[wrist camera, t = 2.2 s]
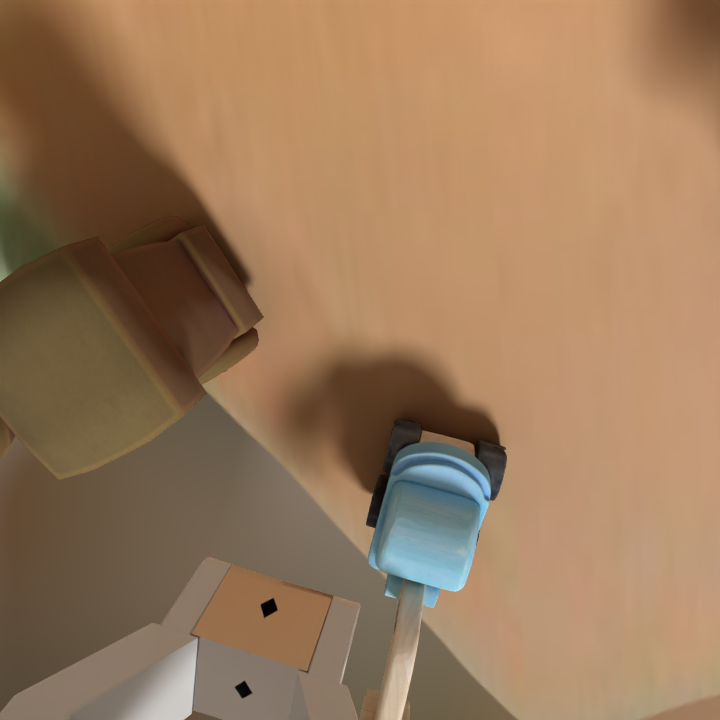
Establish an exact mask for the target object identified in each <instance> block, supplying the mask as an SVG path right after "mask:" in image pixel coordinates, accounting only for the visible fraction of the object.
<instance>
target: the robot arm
mask: <svg viewBox="0 0 720 720" xmlns="http://www.w3.org/2000/svg"><path fill="white" fill-rule="evenodd" d="M333 597H334V598H333ZM359 610H360V604H359V603H356V602H352V601H349V600H346V599H343V598H339V597H336V596H333V595H330V594H326V593H323V592H320V591H316V590H313V589H310V588H306V587H303V586H299V585H296V584H292V583H289V582H286V581H280V580H277V579H274V578H271V577H268V576H265V575H262V574H259V573H257V572H254V571H250V570H248V569H245V568H242V567H239V566H236V565H232V564H229V563H226V562H222V561H219V560H216V559H214V558H210V557H208V558H206V559H205V560H204V561H203V562H202V563H201V564H200V566H199V567H198V569H197V570H196V572H195V573H194V575H193V576H192V578H191V579H190V581H189V582H188V584H187V586H186V587H185V588H184V590H183V592H182V593H181V594H180V596H179V598H178V599H177V600H176V602H175V604H174V605H173V606H172V608H171V610H170V611H169V613H168V614H167V616H166V617H165V619H164V620H163V622H162V623H161V625H159V624H155V623H151V624H150V625H147V626H145V627H144V628H142V629H140V630H138V631H136V632H134V633H132V634H130V635H128V636H126V637H125V638H123V639H121V640H119V641H117V642H115V643H113V644H111V645H110V646H107V647H106V648H104V649H102V650H100V651H98V652H96V653H94V654H92V655H91V656H89V657H87V658H85V659H83V660H81V661H79V662H77V663H75V664H73V665H71V666H69V667H68V668H66V669H64V670H62V671H60V672H58V673H56V674H54V675H52V676H50V677H49V678H47V679H45V680H43V681H41V682H39V683H37V684H35V685H33V686H32V687H30V688H28V689H26V690H24V691H22V692H20V693H18V694H16V695H15V696H14V697H13V698H12V699H11V701H10V702H9V703H8V704H7V705H6V707H5V708H4V709H3V710H2V712H1V713H0V720H184V719H185V718H186V717H188V716H189V715H190V714H191V713H192V710H194V711H197V712H201V713H204V714H207V715H210V716H214V717H217V718H220V719H223V720H358V717H357V714H356V711H355V708H354V705H353V702H352V699H351V696H350V693H349V690H348V687H347V686H345V685H342V684H341V682H342V679H343V674H344V671H345V667H346V662H347V658H348V654H349V650H350V646H351V642H352V638H353V634H354V630H355V626H356V622H357V618H358V614H359Z"/></svg>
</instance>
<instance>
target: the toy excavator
mask: <svg viewBox="0 0 720 720" xmlns="http://www.w3.org/2000/svg"><path fill="white" fill-rule="evenodd" d="M394 424H395V425H394V428H393V429H392V432H391V439H390V442H389V446H388V450H387V454H386V459H385V462H384V467H383V471H385V472H389V473H390V477H387V476H383V475H380V477H378V482H377V485H376V487H375V490H374V493H373V496H372V501H371V504H370V508H369V512H368V517H367V522H366V525H367V526H370V527H373V528H375V532H374V536H373V539H372V543H371V547H370V551H369V555H368V561H369V564H370V565H371V566H372V567H373V568H375V569H377V570H380V571H382V572H385V573H388V575H387V580H386V585H385V591H384V594H385V595H386V596H390V597H393V598H397V599H398V604H397V612H396V619H395V626H394V632H393V637H392V642H391V647H390V652H389V656H388V660H387V665H386V669H385V674H384V678H383V683H382V687H381V691H377V690H374V689H370V688H369V689H367V691H366V695H365V698H364V702H363V707H362V711H361V716H360V720H409V711H410V702H409V701H407V700H406V698H407V694H408V689H409V685H410V681H411V676H412V671H413V667H414V661H415V656H416V651H417V645H418V638H419V630H420V623H421V616H422V608H423V605H425V606H428V607H431V608H433V607H434V606H435V604H436V601H437V598H438V595H439V591H440V588H441V589H445V590H449V591H458V590H460V589H462V588H463V586H464V585H465V583H466V580H467V577H468V574H469V571H470V568H471V565H472V561H473V557H474V552H475V548H476V545H477V541H478V537H479V532H480V527H481V524H482V521H483V519H484V516H485V513H486V511H487V508H488V505H489V502H490V500H492V501H493V500H495V498H496V497H497V495H498V493H499V490H500V487H501V484H502V480H503V476H504V472H505V468H506V461H507V456H506V453H505V452H504V450H506V448H505V447H503V446H500V445H496V444H493V443H489V442H485V441H482V440H479V441H478V442H477V444H476V447H475V448H474V445H473V444H471V443H469V442H466V441H463V440H459V439H456V438H452V437H448V436H444V435H440V434H436V433H432V432H428V431H424V430H421V424H420V423H415V422H410V421H406V420H402V419H396V421H395V422H394Z"/></svg>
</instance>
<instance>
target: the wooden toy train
mask: <svg viewBox="0 0 720 720" xmlns="http://www.w3.org/2000/svg"><path fill="white" fill-rule="evenodd" d="M262 318H263V315H262V314H261V312H260V310H259V309H258V307H257V306H256V304H255V303H254V301H253V300H252V298H251V297H250V295H249V293H248V292H247V290H246V289H245V287H244V286H243V284H242V283H241V281H240V279H239V278H238V276H237V275H236V273H235V272H234V270H233V269H232V267H231V265H230V264H229V262H228V261H227V259H226V258H225V256H224V255H223V253H222V251H221V250H220V248H219V247H218V245H217V244H216V242H215V241H214V239H213V237H212V236H211V234H210V233H209V231H208V230H207V228H206V227H205V225H204V224H203V225H200V226H198V227H195V228H192V229H190V230H189V227H188V224H187V223H186V222H185V221H183V220H182V219H180V218H179V217H175V216H168V217H165V218H162V219H159V220H157V221H155V222H153V223H151V224H148V225H146V226H144V227H142V228H141V229H139V230H137V231H135V232H133V233H131V234H130V235H128V236H126V237H125V238H123V239H121V240H120V241H118V242H117V243H115V244H114V245H112V246H111V247H109V248H108V249H106V247H105V246H104V245H103V243H102V242H101V241H100V239H99V238H98V236H97V237H94V238H91V239H87V240H84V241H81V242H77V243H74V244H71V245H67V246H64V247H61V248H59V249H57V250H55V251H53V252H51V253H49V254H47V255H45V256H42V257H40V258H38V259H36V260H34V261H32V262H30V263H28V264H26V265H24V266H22V267H20V268H18V269H17V270H16V271H14V272H13V273H12V274H10V275H9V276H8V277H6V278H5V279H4V280H2V281H1V282H0V459H1V458H4V456H5V454H6V452H7V451H8V449H9V447H10V445H11V443H12V441H13V439H14V437H15V435H16V437H17V438H18V439H19V440H20V442H21V443H22V444H23V445H24V446H25V447H27V449H28V450H29V451H30V452H31V453H32V454H33V455H35V457H36V458H37V459H38V460H40V462H41V463H42V464H43V465H45V466H46V468H47V469H48V470H50V472H51V473H53V475H55V476H56V477H57V478H58V479H59V480H61V479H64V478H68V477H71V476H74V475H78V474H82V473H85V472H89V471H92V470H95V469H96V468H99V467H101V466H103V465H105V464H106V463H108V462H110V461H112V460H114V459H116V458H118V457H120V456H122V455H124V454H126V453H128V452H130V451H132V450H134V449H136V448H138V447H140V446H142V445H144V444H146V443H148V442H149V441H151V440H152V439H153V438H154V437H156V436H157V435H159V434H160V433H161V432H163V431H164V430H165V429H167V428H168V427H169V426H171V425H172V424H173V423H175V422H176V421H177V420H179V419H180V418H181V417H183V416H184V415H185V414H186V413H187V412H188V411H189V410H190V409H191V408H192V407H193V406H194V405H195V404H196V403H197V402H198V401H199V400H200V399H202V397H203V396H205V395H206V394H207V393H206V391H205V390H204V388H203V387H202V384H204V383H206V382H208V381H209V380H211V379H213V378H215V377H216V376H218V375H219V374H221V373H223V372H225V371H227V370H228V369H229V368H230V367H232V366H233V365H235V364H236V363H238V362H239V361H240V360H242V359H243V358H244V357H246V356H247V355H248V354H249V353H251V352H252V351H253V350H254V349H255V348H256V347H257V345H258V341H259V339H258V333H257V330H256V329H255V328H253V326H254V325H255V324H256V323H257V322H259V321H260V320H261V319H262Z"/></svg>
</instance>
